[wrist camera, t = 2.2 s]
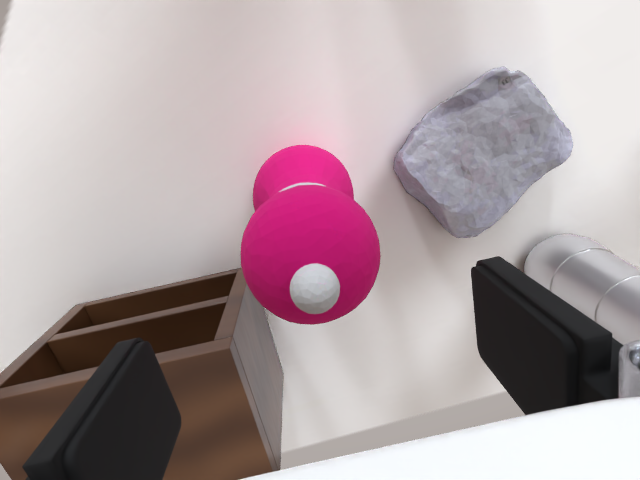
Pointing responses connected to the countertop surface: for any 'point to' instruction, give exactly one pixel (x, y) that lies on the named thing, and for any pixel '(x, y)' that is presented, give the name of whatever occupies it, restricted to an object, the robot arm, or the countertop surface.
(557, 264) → the silver metal bottle
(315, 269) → the pepper mill
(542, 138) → the stone block
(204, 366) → the shelf
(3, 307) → the countertop surface
